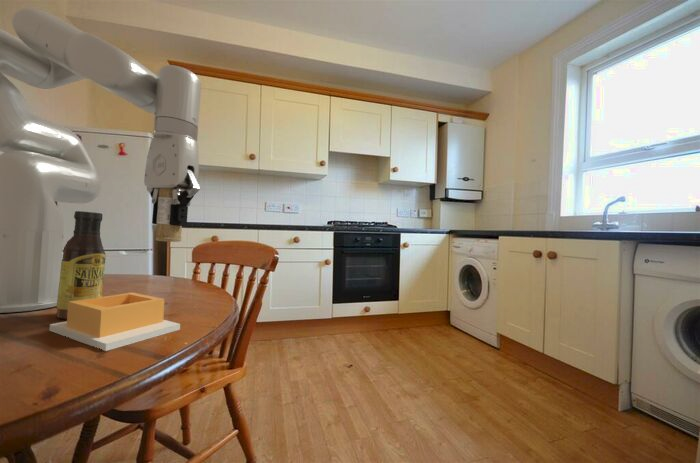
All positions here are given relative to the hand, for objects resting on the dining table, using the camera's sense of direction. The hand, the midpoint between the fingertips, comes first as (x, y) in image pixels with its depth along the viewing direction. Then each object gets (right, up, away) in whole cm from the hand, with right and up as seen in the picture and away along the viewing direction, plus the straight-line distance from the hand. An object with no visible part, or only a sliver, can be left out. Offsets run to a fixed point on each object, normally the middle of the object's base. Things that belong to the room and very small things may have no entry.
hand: (169, 224), depth 58 cm
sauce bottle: (-16, -18, -2) cm, 24 cm away
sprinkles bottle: (0, -4, 0) cm, 4 cm away
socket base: (-3, -18, -9) cm, 20 cm away
